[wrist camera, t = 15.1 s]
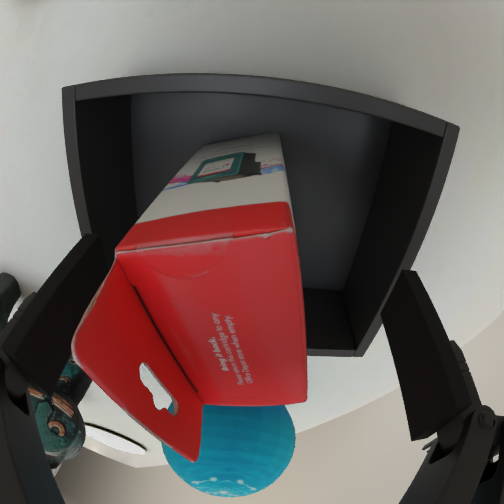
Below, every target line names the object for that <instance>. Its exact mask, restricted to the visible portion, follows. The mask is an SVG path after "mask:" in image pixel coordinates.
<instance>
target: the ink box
mask: <svg viewBox="0 0 504 504" xmlns="http://www.w3.org/2000/svg"><path fill="white" fill-rule="evenodd" d="M306 343H307V342H306V325H305V312H304V298H303V287H302V277H301V270H300V260H299V254H298V245H297V239H296V231H295V224H294V218H293V212H292V206H291V199H290V193H289V187H288V181H287V175H286V169H285V163H284V158H283V152H282V146H281V140H280V135H279V133H278V132H272V133H265V134H259V135H253V136H248V137H243V138H238V139H233V140H228V141H223V142H218V143H214V144H209V145H204V146H202V147H201V148H200V149H199V150H198V151H197V152H196V153H195V154H194V155H193V156H192V157H191V158H190V160H189V161H188V162H187V163H186V164H185V165H184V166H183V167H182V169H180V171H179V172H178V173H177V174H176V176H175V177H174V178H173V179H172V180H171V181H170V182H169V183H168V185H167V186H166V187H165V188H164V189H163V191H162V192H161V193H160V194H159V195H158V197H157V198H156V199H155V200H154V201H153V202H152V204H151V205H150V206H149V207H148V208H147V210H146V211H145V212H144V213H143V214H142V216H141V217H140V219H139V220H138V221H137V222H136V223H135V225H134V226H133V227H132V228H131V229H130V230H129V232H128V233H127V234H126V235H125V237H124V238H123V240H122V241H121V242H120V243H119V244H118V246H117V247H116V248H115V260H114V262H113V265H112V267H111V269H110V271H109V273H108V275H107V276H106V278H105V279H104V281H103V282H102V284H101V286H100V287H99V289H98V291H97V292H96V294H95V296H94V297H93V299H92V301H91V303H90V304H89V306H88V308H87V309H86V311H85V313H84V315H83V317H82V319H81V321H80V323H79V325H78V327H77V329H76V331H75V333H74V336H73V338H72V342H71V350H72V356H73V360H74V361H75V363H76V364H77V365H78V366H79V367H80V368H81V369H82V370H83V371H84V372H85V373H86V374H87V375H88V376H89V377H90V378H91V379H92V380H93V381H94V382H95V383H96V384H97V385H98V386H99V387H100V388H101V389H102V390H103V391H104V392H105V393H106V394H107V395H108V396H109V397H110V398H111V399H112V400H113V401H114V402H115V403H117V404H118V405H119V406H120V407H121V408H122V409H123V410H124V411H125V412H126V413H127V414H128V415H129V416H130V417H131V418H132V419H134V420H135V421H136V422H137V423H138V424H140V425H141V426H142V427H143V428H144V429H145V430H147V431H148V432H149V433H151V434H152V435H153V436H154V437H156V438H157V439H158V440H159V441H161V442H162V443H163V444H165V445H166V446H168V447H170V448H172V449H173V450H174V451H176V452H177V453H179V454H180V455H182V456H183V457H184V458H186V459H187V460H189V461H190V462H192V463H194V462H196V461H197V459H198V457H199V449H200V444H201V428H202V408H203V405H204V404H209V405H220V406H276V405H287V404H295V403H301V402H306V400H307V387H308V386H307V346H306ZM142 362H143V363H144V365H145V366H146V367H147V368H148V369H149V371H150V372H151V373H152V375H153V376H154V377H155V378H156V380H157V381H158V382H159V383H160V385H161V386H162V387H163V388H164V389H165V391H166V392H167V393H168V394H169V395H170V397H171V398H172V401H173V405H174V410H173V415H172V414H171V413H170V412H169V411H168V410H167V409H166V408H162V409H161V410H158V409H157V408H156V407H155V405H154V401H153V395H152V393H151V392H150V391H149V389H148V388H147V387H146V386H144V384H143V383H142V381H141V379H140V371H139V367H140V365H141V363H142Z"/></svg>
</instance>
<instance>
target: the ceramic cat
mask: <svg viewBox="0 0 504 504" xmlns="http://www.w3.org/2000/svg"><path fill="white" fill-rule="evenodd" d="M20 296H21V292H20V290H19V287H18V283H17V281H16V280H15V279H14V278H13V277H12V276H11V275H9V274H5V273H1V274H0V335H1V333H2V332H3V330H4V328H5V327H6V325H7V324H8V317H9V315H10V313H11V311H12V308H13V306H14V305H15V303H16V301H17V300H18V299H19V297H20ZM92 381H93V380H92V379H91V378H90V377H89V376H88V375H87V374H86V373H85V372H84V371H83V370H82V369H81V368H80V367H79V366H78V365H77V364H76V363H75V361H74V360H73V356H72V354H71V356H70V358H69V360H68V362H67V364H66V366H65V368H64V370H63V372H62V374H61V376H60V378H59V380H58V383H57V385H56V387H55V389H54V391H53V394H52V396H51V397H48V396H46V395H44V394H42V393H40V392H38V391H36V390H35V389H34V387H33V386H32V385H31V384H30V383H29V385H28V387H27V388H28V389H29V392H30V395H31V400H32V405H33V409H34V414H35V418H36V422H37V426H38V430H39V433H40V437H41V440H42V444H43V447H44V450H45V453H46V456H47V459H48V462H49V465H50V468H51V469H57V467H58V466H59V465H60V464H61V463H62V461H63V460H70V459H72V458H74V457H76V456H77V455H78V453H79V452H80V450H81V448H82V446H83V444H84V441H85V436H86V430H85V424H84V421H83V418H82V416H81V414H80V411H79V409H78V407H77V406H78V404H79V403H80V401H81V400H82V399H83V397H84V395H85V393H86V391H87V389H88V388H89V386H90V384H91V382H92Z"/></svg>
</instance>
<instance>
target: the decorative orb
mask: <svg viewBox="0 0 504 504" xmlns="http://www.w3.org/2000/svg"><path fill="white" fill-rule="evenodd" d="M173 410H174V405H173V401H172V402H171V404H170V406H169V408H168V411H169V412H170V413H171V414H172V415H173ZM295 439H296V437H295V428H294V425H293V421H292V419H291V417H290V415H289V413H288V411H287V409H286V407H285V405H276V406H220V405H209V404H204V405H203V408H202V428H201V444H200V449H199V457H198V459H197V461H196V462H194V463H192V462H190V461H189V460H187V459H186V458H184V457H183V456H182V455H180V454H179V453H177V452H176V451H174V450H173V449H172V448H170V447H168V446H166V445H165V444H163V443H162V447H163V451H164V454H165V457H166V459H167V461H168V463H169V464H170V466H171V467H172V469H173V470H174V471H175V473H177V475H178V476H179V477H180V478H181V479H183V480H184V481H185V482H186V483H188V484H189V485H190V486H192V487H194V488H196V489H198V490H199V491H202V492H205V493H207V494H210V495H215V496H221V497H238V496H245V495H249V494H253V493H255V492H258V491H260V490H262V489H264V488H266V487H267V486H269V485H270V484H272V483H273V482H274V481H275V480H276V479H277V478H278V477H279V476H280V475H281V474H282V473H283V471H284V470H285V469H286V467H287V466H288V464H289V462H290V460H291V458H292V455H293V451H294V448H295Z"/></svg>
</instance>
